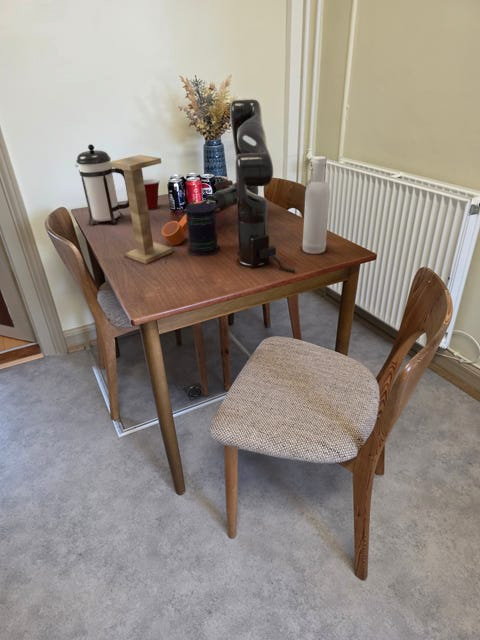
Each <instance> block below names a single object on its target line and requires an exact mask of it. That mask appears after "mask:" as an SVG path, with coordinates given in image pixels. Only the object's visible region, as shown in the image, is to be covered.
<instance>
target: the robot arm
mask: <svg viewBox="0 0 480 640" xmlns="http://www.w3.org/2000/svg"><path fill="white" fill-rule="evenodd" d="M229 111H230V112H229V113H230V114H229V115H230V116H229V117H230V125H231V126H230V127H231V133H232V141H233V146H234V153H235V154H234V155H235V162H234V173H235V182H233V184H232V185H230V186H229V187H230V188H228V189H225V190H220V191H217V192H215V193H212V194H209V195H207V197H206V199H205V200H202V201H201V200H200V201H198V202H199V203H208V204H212V205H214V206H215V214H220V213H222V212H223V211H225V210H228V209H230V208H231V207H234V206H236V205H237V207H236V208H237V233H238V236H237V237H238V251H237V256H238V262H239V263H240V264H241V265H243V266H246V267H251V268H252V269H253V268H254V269H255V268H257V267H261V266H264V265H268V264H270V258H272V259H273V260H274V261H275V262H276V263H277V264H278V266H279V268H280V269H281V270H283V271H285V272H292V273H295V272H296V270H295V269H292V268H286V267H284V266H283V265H282V263H281V261H280V260H279V259H278V258H277V257H276V255H277V254H276V253H277V252H276V251H277V250H276V249H277V248H276V246H274V245H270V235H269V233H268V231H269V228H268V227H269V219H268V218H269V203H268V199H267V198H266V197H265V196H262V195H259V187H266V186H268V185H270V184H271V182H272V181H273V178H274V165H273V160H272V157H271V154H270V151H269V149H268V146H267V145H268V144H267V137H266V133H265V129H264V125H263V117H262V116H263V114H262V107H261V104H260V102H259V101H258V100H256V99H254V98H253V99H252V98H251V99H235V100H232V101H231V103H230V110H229ZM194 202H197V200H196V199H194V200H192V201H191V202H190V203H189V204H188V206H189V205H192V204H194ZM183 210H184V212H183V213H184V215H185V214H186V208H185V209H183Z"/></svg>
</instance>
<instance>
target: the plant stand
mask: <svg viewBox="0 0 480 640" xmlns="http://www.w3.org/2000/svg"><path fill="white" fill-rule="evenodd" d="M160 164H162V158H161V157H156V156H150V155H149V156H148V155H143V154H137V155H133V156H129V157H124V158H119V159H116V160H110V162H109V165H110V167H112V169H113V168H118V169H122V170H123V171H124V177H125V180H124V184H125V183H126V185H125V189H126V188H127V191H126V195H127V194H128V197H127V201H128V200H129V211H130V217H131V221H132V227H133V234H134V239H135V245H136V248H135V249H132V250H130V251H126V252H125V255H126V258H129V259H132V260H135V261H137V262H140V263H143V264H144V265H145V264H146V265H147V264H149V263H151V262H154V261H155V260H158V259H160V258H162V257H164V256H165V257H166V256H167V255H169V254H171V253H173V248H172V247H170V246H167V245H164V244H161V243H158V242H154V241H153V234H152V228H151V227H152V226H151V221H150V214H149V209H148V206H147V200H146V193H145V187H144V180H145V179H144V174H143V173H144V172H143V169H144V168H149V167H153V166H156V165H160ZM124 177H123V178H124Z"/></svg>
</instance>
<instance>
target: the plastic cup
mask: <svg viewBox="0 0 480 640" xmlns="http://www.w3.org/2000/svg"><path fill="white" fill-rule="evenodd" d="M143 180H144V187H145V193H146V200H147V206H148V211H149V210H155V209H157V208H158V206H159V202H158V201H159V185H160V182H161V180H159V179H155V178H154V179H151V178H150V179H148V178H147V179H143Z"/></svg>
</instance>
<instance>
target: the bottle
mask: <svg viewBox="0 0 480 640" xmlns="http://www.w3.org/2000/svg"><path fill="white" fill-rule="evenodd" d="M312 164H313V165H312V166H313V168H312V171H313V172H312V180H311V182H309V183H308V184H307V186H306V189H305V191H304V193H305V195H304V211H303V213H304V214H303V231H302V233H303V235H302V251H303V252H304V253H306V254H310V255H311V254H312V255H319V254H322V253H324V252H326V248H327V236H328V223H329V209H330V199H331V198H330V197H331V189H330V185H329V184H328V183H327V182H326V180H325V177H326V175H325V174H326V164H327V158H326V157H325V156H324V155H323V156H322V155H317V156H314V157H313V161H312Z"/></svg>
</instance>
